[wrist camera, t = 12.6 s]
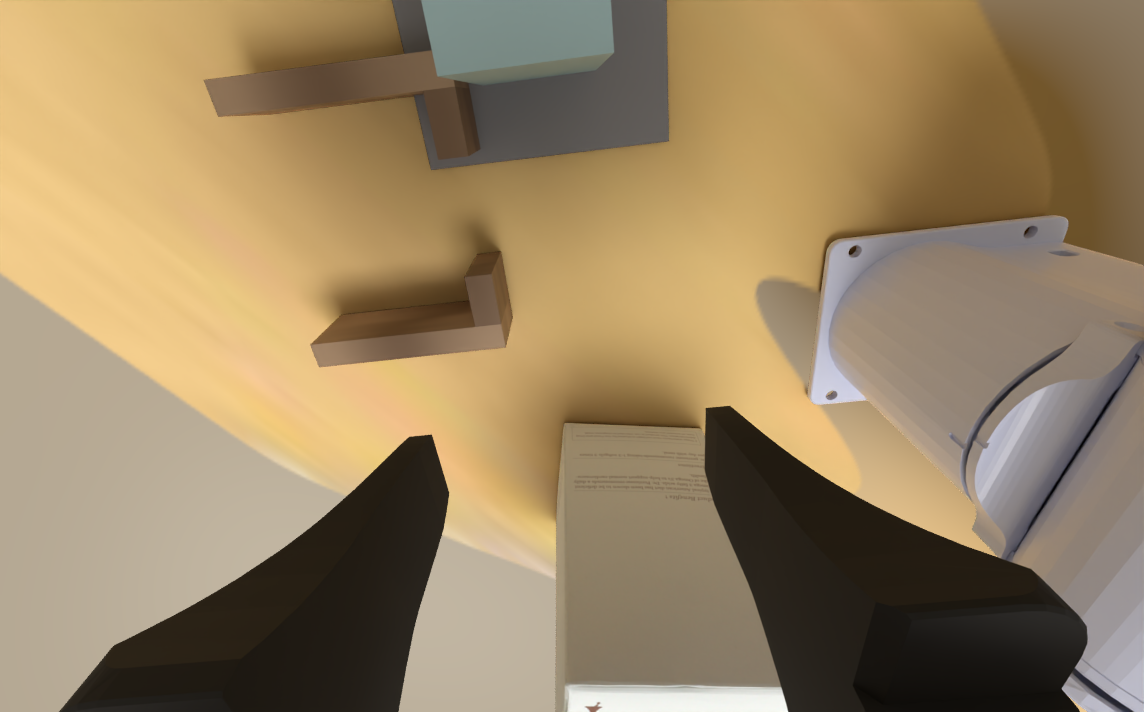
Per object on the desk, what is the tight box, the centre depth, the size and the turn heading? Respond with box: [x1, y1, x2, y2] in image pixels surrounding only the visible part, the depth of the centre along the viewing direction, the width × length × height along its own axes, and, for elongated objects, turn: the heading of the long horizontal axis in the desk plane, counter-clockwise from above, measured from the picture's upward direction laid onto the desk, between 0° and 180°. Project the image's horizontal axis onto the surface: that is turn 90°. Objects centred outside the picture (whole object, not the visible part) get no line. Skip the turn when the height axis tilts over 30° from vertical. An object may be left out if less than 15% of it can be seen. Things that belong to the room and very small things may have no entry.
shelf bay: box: [204, 50, 513, 367], centre depth 18 cm, size 8×10×3 cm
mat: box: [392, 0, 669, 170], centre depth 16 cm, size 9×9×1 cm
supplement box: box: [555, 423, 788, 712], centre depth 21 cm, size 7×7×13 cm
